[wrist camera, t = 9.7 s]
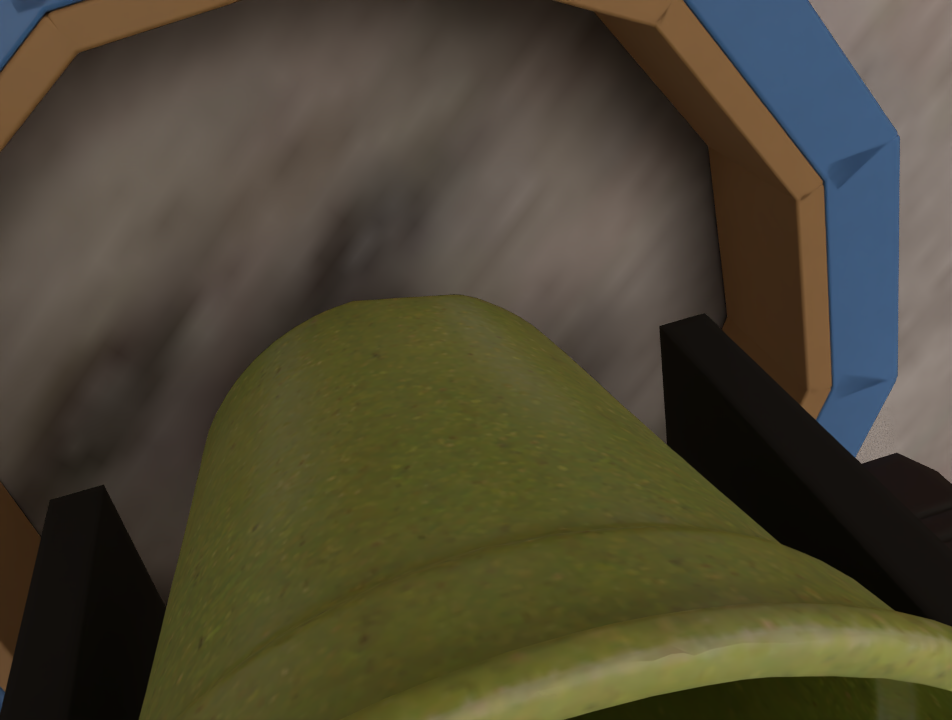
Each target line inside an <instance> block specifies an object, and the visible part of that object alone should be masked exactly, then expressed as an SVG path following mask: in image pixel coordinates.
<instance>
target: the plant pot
mask: <svg viewBox="0 0 952 720" xmlns="http://www.w3.org/2000/svg"><path fill="white" fill-rule="evenodd" d="M139 720H952V626H949V625H946V624H943V623H940V622H937V621H935V620H931V619H927V618H923V617H918V616H914V615H910V614H906V613H902V612H897V611H894V610H893V609H892V608H891V607H889V606H888V605H887V604H885V603H884V602H883V601H881V600H880V599H879V598H877V597H876V596H875V595H874V594H872V593H871V592H870V591H868V590H867V589H866V588H864V587H863V586H862V585H861V584H859V583H858V582H857V581H855V580H854V579H852V578H851V577H849V576H847V575H845V574H844V573H842V572H840V571H838V570H837V569H835V568H833V567H831V566H830V565H828V564H826V563H824V562H823V561H821V560H818V559H816V558H814V557H811V556H809V555H807V554H805V553H802V552H800V551H797V550H795V549H792V548H790V547H787V546H785V545H782V544H780V543H779V542H778V541H777V540H776V539H775V538H773V537H772V536H771V535H770V534H769V533H768V532H767V531H765V530H764V529H763V528H762V527H761V526H760V525H758V524H757V523H756V522H755V521H754V520H753V519H752V518H750V517H749V516H748V515H747V514H746V513H745V512H743V511H742V510H741V509H740V508H739V507H738V506H737V505H735V504H734V503H733V502H732V501H731V500H730V499H728V498H727V497H726V496H725V495H724V494H723V493H721V492H720V491H719V490H718V489H717V488H716V487H714V486H713V485H712V484H711V483H710V482H709V481H707V480H706V479H705V478H704V477H703V476H702V475H701V474H700V473H698V472H697V471H696V470H695V469H694V468H693V467H692V466H691V465H689V464H688V463H687V462H686V461H685V460H684V459H683V458H682V457H680V456H679V455H678V454H677V453H676V452H675V451H673V450H672V449H671V448H670V447H669V446H668V445H666V444H665V443H664V442H663V441H662V440H661V439H660V438H659V437H658V436H656V435H655V434H654V433H653V432H652V431H651V430H650V429H649V428H647V427H646V426H645V425H644V424H643V423H642V422H641V421H640V420H639V419H637V418H636V417H635V416H634V415H633V414H632V413H631V412H629V411H628V410H627V409H626V408H625V407H624V406H623V405H621V404H620V403H619V402H618V401H617V400H616V399H615V398H614V397H613V396H612V395H611V394H610V393H608V392H607V391H606V390H605V389H604V388H603V387H602V386H601V385H600V384H599V383H598V382H597V381H596V380H594V379H593V378H592V377H591V376H590V375H589V374H588V373H587V372H586V371H585V370H583V369H582V368H581V367H580V366H579V365H578V364H577V363H576V362H575V361H573V360H572V359H571V358H570V357H569V356H568V355H567V354H566V353H565V352H563V351H562V350H561V349H560V348H559V347H557V346H556V345H555V344H554V343H553V342H552V341H551V340H550V339H548V338H547V337H546V336H545V335H544V334H542V333H541V332H540V331H539V330H537V329H536V328H535V327H534V326H533V325H531V324H530V323H528V322H527V321H525V320H523V319H522V318H520V317H519V316H517V315H515V314H513V313H511V312H509V311H507V310H505V309H503V308H501V307H498V306H496V305H493V304H491V303H488V302H486V301H483V300H481V299H478V298H474V297H469V296H464V295H439V296H423V297H406V298H390V299H378V300H361V301H351V302H349V303H346V304H343V305H340V306H338V307H335V308H332V309H329V310H327V311H325V312H323V313H320V314H318V315H316V316H314V317H312V318H310V319H309V320H307V321H305V322H303V323H301V324H300V325H298V326H296V327H295V328H293V329H292V330H290V331H289V332H287V333H286V334H285V335H283V336H282V337H280V338H279V339H277V340H276V341H275V342H273V343H272V344H271V345H270V346H269V347H268V348H267V349H266V350H264V351H263V352H262V353H261V354H260V355H259V356H258V357H257V358H256V359H255V360H254V361H253V362H252V363H251V364H250V365H249V366H248V367H247V369H246V370H245V371H244V372H243V373H242V374H241V376H240V377H239V378H238V380H237V381H236V382H235V383H234V385H233V386H232V388H231V389H230V391H229V392H228V394H227V395H226V397H225V399H224V400H223V402H222V404H221V406H220V408H219V409H218V411H217V413H216V415H215V417H214V419H213V422H212V424H211V427H210V429H209V432H208V436H207V440H206V444H205V448H204V452H203V456H202V460H201V466H200V470H199V474H198V478H197V482H196V486H195V491H194V495H193V500H192V504H191V509H190V513H189V517H188V521H187V525H186V529H185V534H184V538H183V542H182V546H181V550H180V554H179V558H178V562H177V566H176V570H175V574H174V578H173V582H172V586H171V590H170V595H169V599H168V603H167V607H166V611H165V615H164V619H163V624H162V628H161V632H160V636H159V640H158V644H157V648H156V653H155V657H154V661H153V665H152V669H151V673H150V677H149V682H148V686H147V690H146V694H145V698H144V701H143V705H142V709H141V713H140V717H139Z"/></svg>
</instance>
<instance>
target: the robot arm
mask: <svg viewBox="0 0 952 720" xmlns="http://www.w3.org/2000/svg"><path fill="white" fill-rule="evenodd" d="M659 328H660V343H661V358H662V373H663V389H664V404H665V419H666V434H667V445H668V446H669V447H670V448H671V449H672V450H673V451H675V452H676V453H677V454H678V455H679V456H680V457H682V458H683V459H684V460H685V461H686V462H687V463H688V464H689V465H691V466H692V467H693V468H694V469H695V470H696V471H697V472H698V473H700V474H701V475H702V476H703V477H704V478H705V479H706V480H707V481H709V482H710V483H711V484H712V485H713V486H714V487H716V488H717V489H718V490H719V491H720V492H721V493H723V494H724V495H725V496H726V497H727V498H728V499H730V500H731V501H732V502H733V503H734V504H735V505H737V506H738V507H739V508H740V509H741V510H742V511H743V512H745V513H746V514H747V515H748V516H749V517H750V518H752V519H753V520H754V521H755V522H756V523H757V524H758V525H760V526H761V527H762V528H763V529H764V530H765V531H767V532H768V533H769V534H770V535H771V536H772V537H773V538H775V539H776V540H777V541H778V542H779V543H780V544H782V545H785V546H787V547H790V548H792V549H795V550H797V551H800V552H802V553H805V554H807V555H809V556H811V557H814V558H816V559H818V560H821V561H823V562H824V563H826V564H828V565H830V566H831V567H833V568H835V569H837V570H838V571H840V572H842V573H844V574H845V575H847V576H849V577H851V578H852V579H854V580H855V581H857V582H858V583H859V584H861V585H862V586H863V587H864V588H866V589H867V590H868V591H870V592H871V593H872V594H874V595H875V596H876V597H877V598H879V599H880V600H881V601H883V602H884V603H885V604H887V605H888V606H889V607H891V608H892V609H893V610H894V611H897V612H902V613H906V614H910V615H914V616H918V617H923V618H927V619H931V620H935V621H937V622H940V623H943V624H946V625H949V626H952V484H951V483H950V482H949V481H948V480H946V479H945V478H944V477H943V476H942V475H941V474H940V473H938V472H937V471H935V470H933V469H931V468H929V467H927V466H924V465H922V464H920V463H918V462H916V461H914V460H911V459H909V458H907V457H905V456H903V455H901V454H898V453H894V454H891V455H888V456H885V457H882V458H879V459H875V460H872V461H869V462H866V463H863V464H861V463H860V462H859V461H858V460H857V459H856V458H855V457H854V456H853V455H852V454H851V453H850V452H849V451H848V450H846V449H845V448H844V447H843V446H842V445H841V444H840V443H839V442H838V441H837V440H836V439H835V438H834V437H833V436H832V435H831V434H830V433H829V432H828V431H827V430H826V429H825V428H824V427H823V426H822V425H820V424H819V423H818V422H817V421H816V420H815V419H814V418H813V417H812V416H811V415H810V414H809V413H808V412H807V411H806V410H805V409H804V408H803V407H802V406H801V405H800V404H799V403H798V402H797V401H795V400H794V399H793V398H792V397H791V396H790V395H789V394H788V393H787V392H786V391H785V390H784V389H783V388H782V387H781V386H780V385H779V384H778V383H777V382H776V381H775V380H774V379H773V378H772V377H770V376H769V375H768V374H767V373H766V372H765V371H764V370H763V369H762V368H761V367H760V366H759V365H758V364H757V363H756V362H755V361H754V360H753V359H752V358H751V357H750V356H749V355H748V354H747V353H745V352H744V351H743V350H742V349H741V348H740V347H739V346H738V345H737V344H736V343H735V342H734V341H733V340H732V339H731V338H730V337H729V336H728V335H727V334H726V333H725V332H724V331H723V330H722V329H721V328H719V327H718V326H717V325H716V324H715V323H714V322H713V321H712V320H711V319H710V318H709V317H708V316H707V315H706V314H705V313H704V314H700V315H697V316H693V317H690V318H686V319H683V320H679V321H676V322H672V323H669V324H665V325H662V326H659ZM165 611H166V607H165V605H164V603H163V601H162V599H161V597H160V595H159V593H158V591H157V589H156V587H155V586H154V584H153V582H152V580H151V578H150V576H149V574H148V572H147V570H146V568H145V566H144V564H143V562H142V560H141V558H140V556H139V554H138V552H137V550H136V548H135V546H134V544H133V542H132V540H131V538H130V536H129V534H128V532H127V530H126V528H125V526H124V524H123V522H122V520H121V518H120V516H119V514H118V512H117V510H116V508H115V506H114V504H113V502H112V500H111V498H110V496H109V494H108V492H107V490H106V488H105V486H104V485H101V486H97V487H94V488H90V489H87V490H83V491H80V492H76V493H73V494H69V495H66V496H62V497H59V498H55V499H52V500H50V501H49V506H48V510H47V514H46V518H45V523H44V527H43V531H42V536H41V540H40V544H39V549H38V553H37V557H36V561H35V566H34V570H33V574H32V579H31V583H30V587H29V591H28V596H27V600H26V604H25V609H24V613H23V617H22V622H21V626H20V630H19V634H18V639H17V643H16V647H15V652H14V656H13V660H12V664H11V669H10V673H9V677H8V682H7V686H6V690H5V695H4V699H3V703H2V707H1V712H0V720H139V717H140V713H141V709H142V705H143V701H144V698H145V694H146V690H147V686H148V682H149V677H150V673H151V669H152V665H153V661H154V657H155V653H156V648H157V644H158V640H159V636H160V632H161V628H162V624H163V619H164V615H165Z"/></svg>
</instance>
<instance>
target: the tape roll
mask: <svg viewBox="0 0 952 720" xmlns="http://www.w3.org/2000/svg"><path fill="white" fill-rule="evenodd" d="M238 1H242V0H0V152H1V151H2V150H3V148H4V147H5V146H6V145H7V143H8V142H9V141H10V140H11V138H12V137H13V136H14V134H15V133H16V132H17V131H18V129H19V128H20V127H21V126H22V124H23V123H24V122H25V120H26V119H27V118H28V117H29V115H30V114H31V113H32V111H33V110H34V109H35V108H36V106H37V105H38V104H39V103H40V101H41V100H42V99H43V97H44V96H45V95H46V94H47V92H48V91H49V90H50V89H51V87H52V86H53V85H54V83H55V82H56V81H57V80H58V78H59V77H60V76H61V75H62V73H63V72H64V71H65V69H66V68H67V67H68V66H69V64H70V63H71V62H72V61H73V59H74V58H75V57H76V55H77V54H78V53H80V52H83V51H86V50H89V49H93V48H96V47H99V46H102V45H105V44H108V43H111V42H114V41H117V40H120V39H124V38H127V37H130V36H133V35H136V34H139V33H142V32H145V31H148V30H151V29H155V28H158V27H161V26H164V25H167V24H170V23H173V22H176V21H179V20H183V19H186V18H189V17H192V16H195V15H198V14H201V13H204V12H207V11H210V10H214V9H217V8H220V7H223V6H226V5H229V4H232V3H235V2H238ZM553 1H557V2H560V3H564V4H568V5H572V6H575V7H579V8H583V9H586V10H590V11H594V13H595V14H596V15H597V16H598V17H599V18H600V20H601V21H602V22H603V23H604V24H605V25H606V27H607V28H608V29H609V30H610V31H611V33H612V34H613V35H614V36H615V37H616V38H617V40H618V41H619V42H620V43H621V44H622V45H623V47H624V48H625V49H626V50H627V51H628V52H629V54H630V55H631V56H632V57H633V58H634V60H635V61H636V62H637V63H638V64H639V65H640V67H641V68H642V69H643V70H644V71H645V72H646V74H647V75H648V76H649V77H650V78H651V80H652V81H653V82H654V83H655V84H656V85H657V87H658V88H659V89H660V90H661V91H662V92H663V94H664V95H665V96H666V97H667V98H668V99H669V101H670V102H671V103H672V104H673V105H674V107H675V108H676V109H677V110H678V111H679V112H680V114H681V115H682V116H683V117H684V118H685V119H686V121H687V122H688V123H689V124H690V125H691V127H692V128H693V129H694V130H695V131H696V132H697V134H698V135H699V136H700V137H701V138H702V139H703V141H704V142H705V143H706V144H707V145H708V149H709V158H710V167H711V176H712V185H713V193H714V202H715V211H716V220H717V228H718V237H719V246H720V255H721V264H722V272H723V281H724V290H725V299H726V308H727V318H726V321H725V323H724V325H723V328H722V330H723V331H724V332H725V333H726V334H727V335H728V336H729V337H730V338H731V339H732V340H733V341H734V342H735V343H736V344H737V345H738V346H739V347H740V348H741V349H742V350H743V351H744V352H745V353H747V354H748V355H749V356H750V357H751V358H752V359H753V360H754V361H755V362H756V363H757V364H758V365H759V366H760V367H761V368H762V369H763V370H764V371H765V372H766V373H767V374H768V375H769V376H770V377H772V378H773V379H774V380H775V381H776V382H777V383H778V384H779V385H780V386H781V387H782V388H783V389H784V390H785V391H786V392H787V393H788V394H789V395H790V396H791V397H792V398H793V399H794V400H795V401H797V402H798V403H799V404H800V405H801V406H802V407H803V408H804V409H805V410H806V411H807V412H808V413H809V414H810V415H811V416H812V417H813V418H814V419H815V420H816V421H817V422H818V423H819V424H820V425H822V426H823V427H824V428H825V429H826V430H827V431H828V432H829V433H830V434H831V435H832V436H833V437H834V438H835V439H836V440H837V441H838V442H839V443H840V444H841V445H842V446H843V447H844V448H845V449H846V450H848V451H849V452H850V453H851V454H852V455H853V456H854V457H856V455H857V453H858V451H859V449H860V447H861V446H862V444H863V442H864V440H865V438H866V436H867V434H868V432H869V431H870V429H871V427H872V425H873V423H874V421H875V419H876V417H877V415H878V414H879V412H880V410H881V408H882V406H883V404H884V402H885V400H886V399H887V397H888V395H889V393H890V391H891V389H892V387H893V385H894V383H895V382H896V378H897V376H898V276H899V169H900V137H899V135H897V131H896V129H895V128H894V126H893V125H892V123H891V122H890V120H889V119H888V118H887V116H886V115H885V113H884V112H883V110H882V109H881V107H880V106H879V104H878V103H877V101H876V100H875V98H874V97H873V95H872V94H871V92H870V91H869V90H868V88H867V87H866V85H865V84H864V82H863V81H862V79H861V78H860V76H859V75H858V73H857V72H856V70H855V69H854V67H853V66H852V64H851V63H850V61H849V60H848V59H847V57H846V56H845V54H844V53H843V51H842V50H841V48H840V47H839V45H838V44H837V42H836V41H835V39H834V38H833V36H832V35H831V33H830V32H829V30H828V29H827V28H826V26H825V25H824V23H823V22H822V20H821V19H820V17H819V16H818V14H817V13H816V11H815V10H814V8H813V7H812V5H811V4H810V2H809V1H808V0H553ZM40 540H41V537H40V536H39V534H38V533H37V532H36V530H35V529H34V527H33V526H32V525H31V523H30V522H29V520H28V519H27V518H26V516H25V515H24V514H23V512H22V511H21V509H20V508H19V507H18V505H17V504H16V503H15V501H14V500H13V498H12V497H11V496H10V494H9V493H8V492H7V490H6V489H5V487H4V486H3V485H2V483H1V482H0V712H1V707H2V703H3V699H4V695H5V690H6V686H7V682H8V677H9V673H10V669H11V664H12V660H13V656H14V652H15V647H16V643H17V639H18V634H19V630H20V626H21V622H22V617H23V613H24V609H25V604H26V600H27V596H28V591H29V587H30V583H31V579H32V574H33V570H34V566H35V561H36V557H37V553H38V549H39V544H40Z"/></svg>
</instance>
